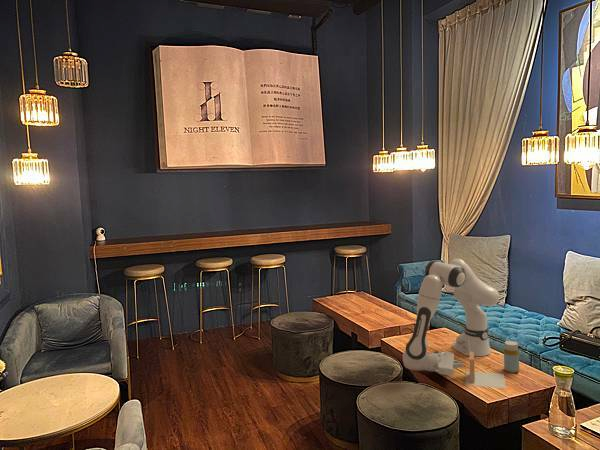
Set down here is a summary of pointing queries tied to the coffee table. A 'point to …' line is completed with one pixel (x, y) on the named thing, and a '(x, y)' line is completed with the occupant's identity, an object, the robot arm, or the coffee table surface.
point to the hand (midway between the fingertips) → (463, 364)
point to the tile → (472, 368)
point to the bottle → (511, 357)
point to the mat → (486, 379)
